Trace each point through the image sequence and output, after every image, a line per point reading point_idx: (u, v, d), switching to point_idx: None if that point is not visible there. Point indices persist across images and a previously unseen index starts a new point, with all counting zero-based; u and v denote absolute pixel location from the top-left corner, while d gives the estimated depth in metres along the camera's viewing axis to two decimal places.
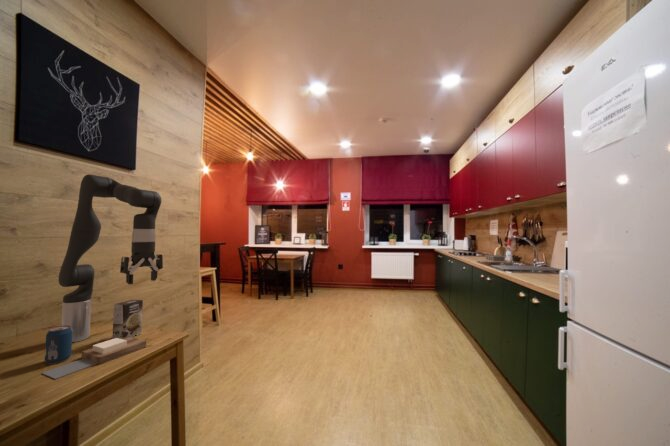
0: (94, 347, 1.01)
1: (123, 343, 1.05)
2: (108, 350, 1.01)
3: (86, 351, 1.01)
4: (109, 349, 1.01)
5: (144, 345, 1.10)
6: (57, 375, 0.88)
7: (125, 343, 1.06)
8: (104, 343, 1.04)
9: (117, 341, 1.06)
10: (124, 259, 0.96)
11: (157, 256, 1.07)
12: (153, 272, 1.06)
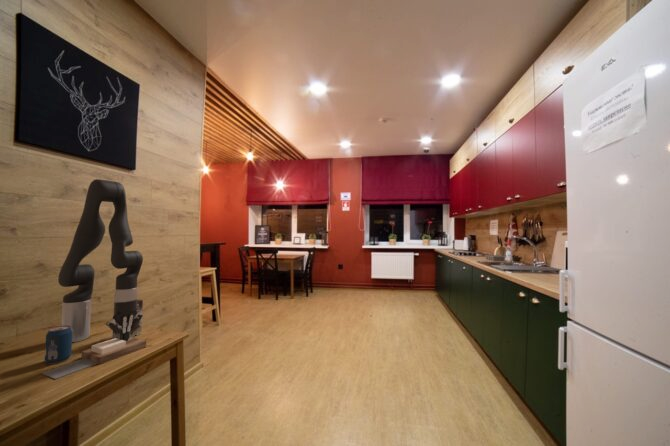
0: (93, 347, 1.01)
1: (122, 343, 1.05)
2: (107, 350, 1.00)
3: (86, 351, 1.01)
4: (108, 349, 1.00)
5: (144, 345, 1.10)
6: (57, 375, 0.88)
7: (124, 343, 1.06)
8: (103, 343, 1.03)
9: (116, 341, 1.05)
10: (109, 326, 1.03)
11: (138, 315, 1.13)
12: None
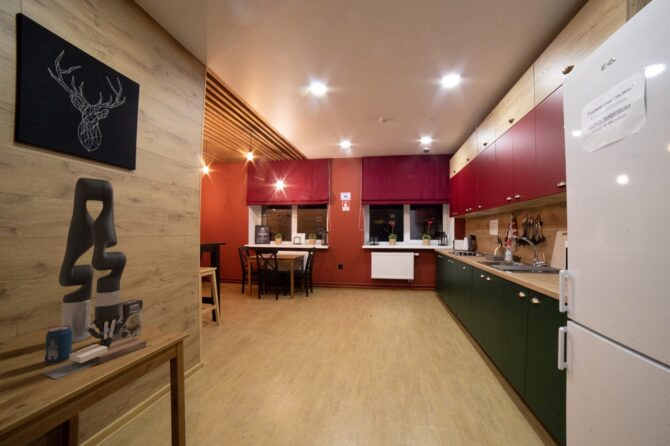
0: (71, 356, 0.95)
1: (103, 350, 0.99)
2: (86, 359, 0.94)
3: None
4: (87, 357, 0.94)
5: (144, 345, 1.10)
6: (57, 375, 0.88)
7: (105, 350, 1.00)
8: (82, 351, 0.97)
9: (97, 348, 0.99)
10: (89, 331, 0.97)
11: (121, 319, 1.07)
12: None
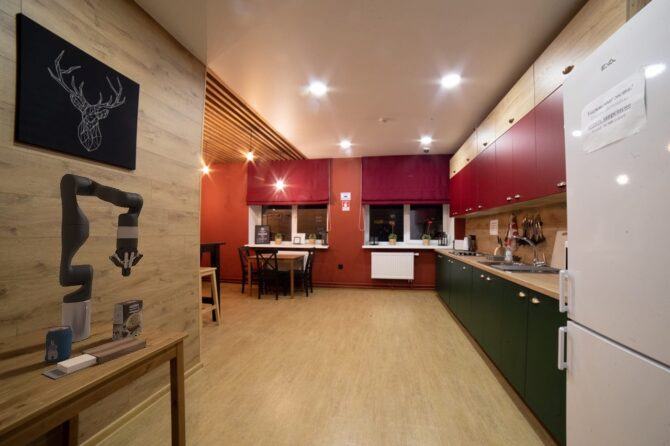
0: (59, 365, 0.92)
1: (92, 360, 0.95)
2: (73, 369, 0.91)
3: (86, 351, 1.01)
4: (74, 368, 0.91)
5: (144, 345, 1.10)
6: (57, 375, 0.88)
7: (94, 360, 0.96)
8: (70, 360, 0.94)
9: (86, 358, 0.96)
10: (112, 259, 1.10)
11: (138, 254, 1.20)
12: None
